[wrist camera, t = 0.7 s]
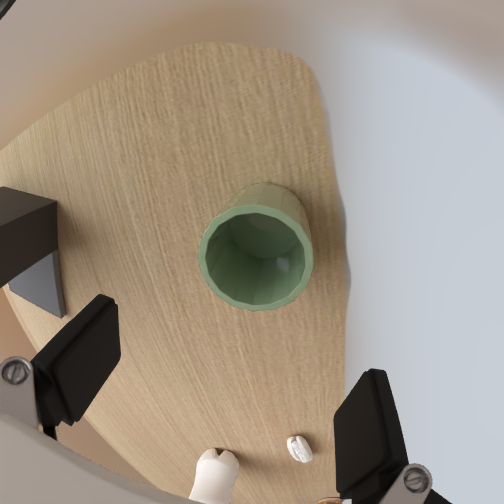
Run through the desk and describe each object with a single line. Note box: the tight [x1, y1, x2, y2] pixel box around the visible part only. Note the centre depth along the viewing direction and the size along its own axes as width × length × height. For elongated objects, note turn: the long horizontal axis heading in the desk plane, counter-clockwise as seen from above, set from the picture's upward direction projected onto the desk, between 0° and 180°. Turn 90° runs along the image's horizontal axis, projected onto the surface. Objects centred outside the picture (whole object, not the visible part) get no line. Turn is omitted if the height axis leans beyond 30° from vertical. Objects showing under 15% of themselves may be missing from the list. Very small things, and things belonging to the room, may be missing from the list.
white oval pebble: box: [287, 435, 313, 463], centre depth 36 cm, size 3×8×3 cm, turn 22°
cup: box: [198, 183, 314, 311], centre depth 21 cm, size 7×7×8 cm
